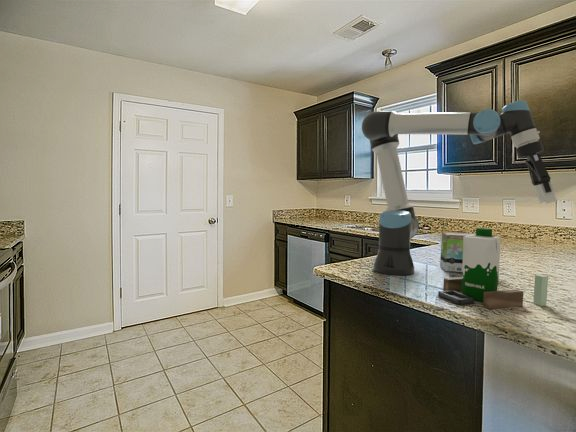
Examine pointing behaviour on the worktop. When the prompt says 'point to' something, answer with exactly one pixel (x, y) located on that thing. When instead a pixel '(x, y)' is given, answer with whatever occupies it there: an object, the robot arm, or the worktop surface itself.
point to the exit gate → (540, 290)
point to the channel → (489, 295)
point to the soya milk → (480, 263)
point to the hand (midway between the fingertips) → (548, 202)
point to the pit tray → (456, 297)
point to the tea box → (452, 251)
